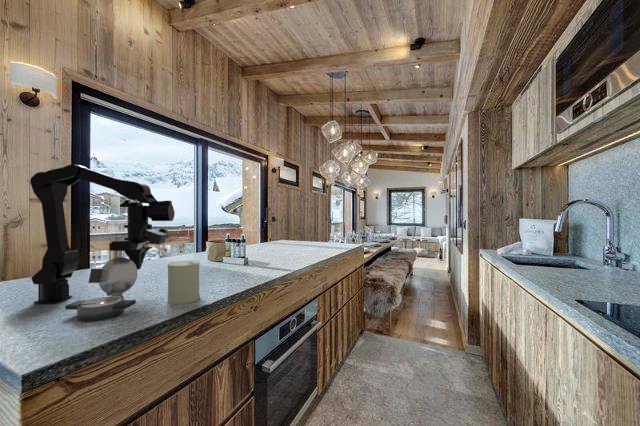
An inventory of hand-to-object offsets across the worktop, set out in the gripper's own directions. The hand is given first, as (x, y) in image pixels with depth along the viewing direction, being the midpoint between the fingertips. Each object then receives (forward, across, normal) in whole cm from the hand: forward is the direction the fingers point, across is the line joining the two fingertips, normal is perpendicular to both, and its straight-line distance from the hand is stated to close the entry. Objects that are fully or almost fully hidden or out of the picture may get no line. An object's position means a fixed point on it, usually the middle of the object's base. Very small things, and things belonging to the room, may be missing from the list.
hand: (138, 269), depth 91 cm
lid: (0, -10, +1) cm, 10 cm away
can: (+9, -3, -16) cm, 19 cm away
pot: (+9, -16, 0) cm, 18 cm away
